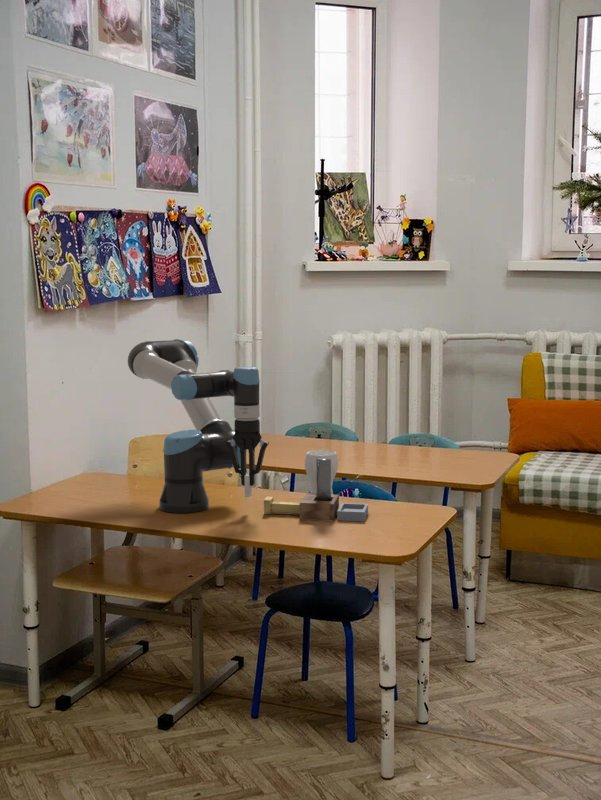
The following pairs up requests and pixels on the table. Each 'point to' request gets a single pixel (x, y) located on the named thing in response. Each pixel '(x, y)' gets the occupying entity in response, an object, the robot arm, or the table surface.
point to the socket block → (318, 508)
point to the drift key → (280, 507)
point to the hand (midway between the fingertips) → (248, 496)
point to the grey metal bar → (323, 479)
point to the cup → (311, 466)
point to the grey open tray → (352, 512)
